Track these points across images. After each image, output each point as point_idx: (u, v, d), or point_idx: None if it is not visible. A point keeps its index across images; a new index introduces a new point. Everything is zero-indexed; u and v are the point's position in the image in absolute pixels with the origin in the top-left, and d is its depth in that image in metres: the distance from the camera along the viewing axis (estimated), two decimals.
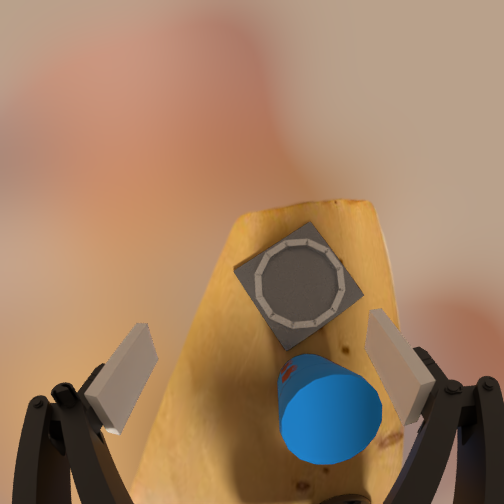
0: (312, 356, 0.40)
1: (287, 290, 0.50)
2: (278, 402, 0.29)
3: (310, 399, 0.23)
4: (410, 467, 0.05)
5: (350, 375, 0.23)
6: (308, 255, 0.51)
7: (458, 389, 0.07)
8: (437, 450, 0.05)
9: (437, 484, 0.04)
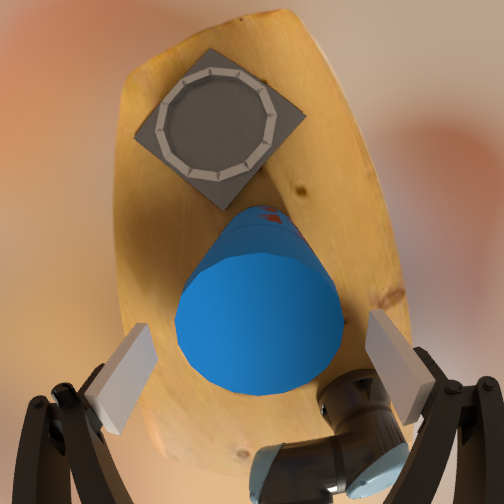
0: (248, 212, 0.31)
1: (202, 135, 0.35)
2: None
3: (205, 305, 0.15)
4: (410, 467, 0.05)
5: (260, 253, 0.14)
6: (217, 86, 0.33)
7: (458, 389, 0.07)
8: (437, 450, 0.05)
9: (437, 484, 0.04)
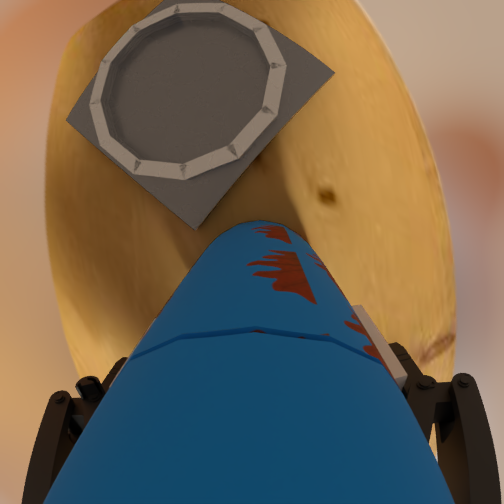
0: (233, 241, 0.16)
1: (160, 104, 0.19)
2: None
3: None
4: None
5: None
6: (188, 30, 0.17)
7: (431, 384, 0.08)
8: None
9: None
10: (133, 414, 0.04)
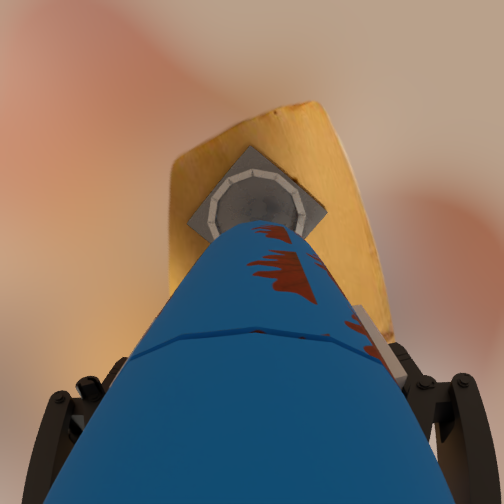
0: (233, 241, 0.16)
1: None
2: None
3: None
4: None
5: None
6: (257, 184, 0.46)
7: (431, 384, 0.08)
8: None
9: None
10: (133, 415, 0.04)
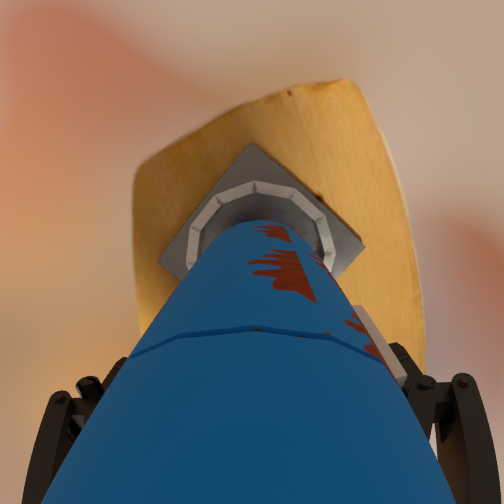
0: (233, 240, 0.16)
1: None
2: None
3: None
4: None
5: None
6: (262, 204, 0.30)
7: (431, 384, 0.08)
8: None
9: None
10: (131, 413, 0.04)
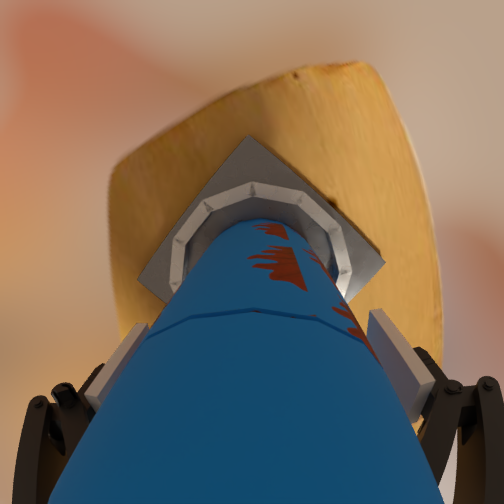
0: (235, 238, 0.17)
1: None
2: None
3: None
4: None
5: None
6: (262, 211, 0.24)
7: (459, 389, 0.07)
8: (437, 450, 0.05)
9: (437, 484, 0.04)
10: (152, 377, 0.05)
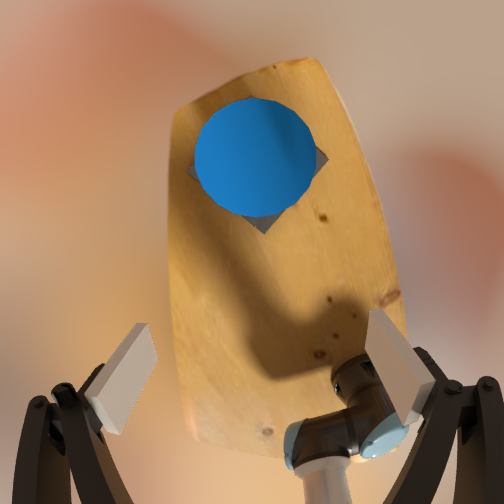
0: None
1: None
2: None
3: (217, 134, 0.21)
4: (410, 467, 0.05)
5: (254, 99, 0.20)
6: None
7: (458, 389, 0.07)
8: (437, 450, 0.05)
9: (437, 484, 0.04)
10: None
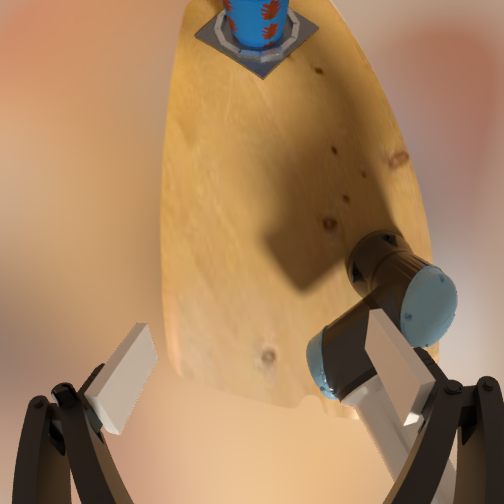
0: None
1: None
2: None
3: None
4: (410, 467, 0.05)
5: None
6: None
7: (458, 389, 0.07)
8: (437, 450, 0.05)
9: (437, 484, 0.04)
10: None
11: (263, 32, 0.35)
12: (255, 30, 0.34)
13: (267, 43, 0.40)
